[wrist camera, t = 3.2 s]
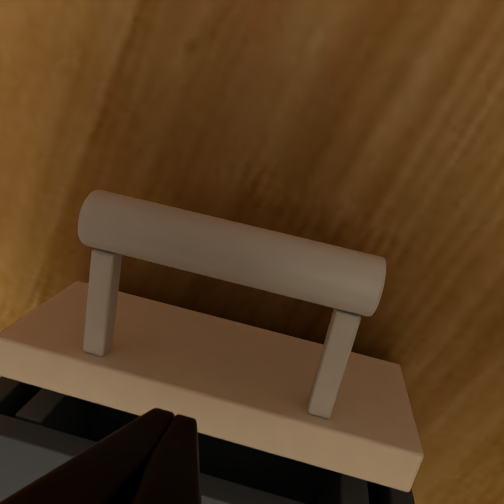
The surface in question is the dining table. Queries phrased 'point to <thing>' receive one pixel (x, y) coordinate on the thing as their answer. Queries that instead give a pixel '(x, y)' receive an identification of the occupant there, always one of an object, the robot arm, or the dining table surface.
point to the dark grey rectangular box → (67, 446)
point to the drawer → (222, 356)
